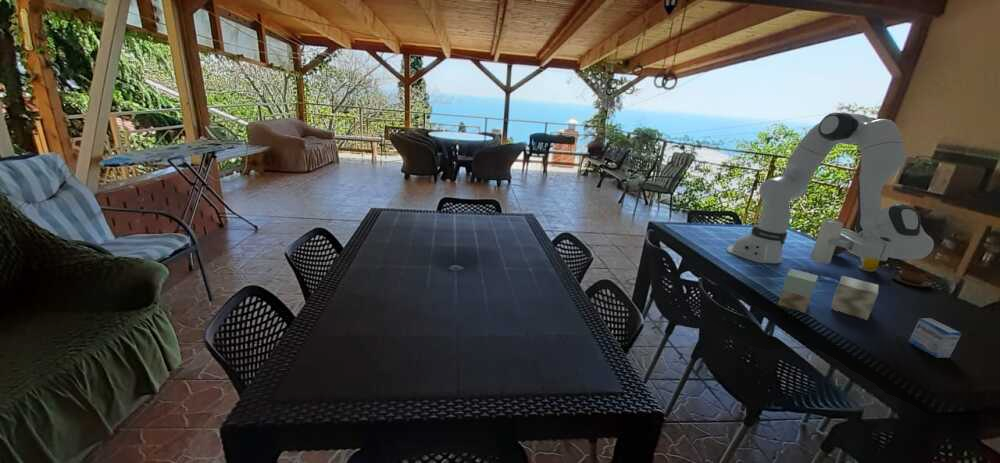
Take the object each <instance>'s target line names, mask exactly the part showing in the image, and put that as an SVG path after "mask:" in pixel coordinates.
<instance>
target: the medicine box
mask: <svg viewBox="0 0 1000 463" xmlns="http://www.w3.org/2000/svg"><path fill="white" fill-rule="evenodd" d="M962 335H963V333H962V332H960V331H958V330H956V329H954V328H952V327H950V326H948V325H947V324H943V323H941V322H939V321H937V320H935V319H933V318H929V317H927V318H925V317H924V318H923V317H922V318H919V319H918V320H917V323H916V325H915V327H914V330H913V331H912V333H911V335H910V337H909V338H908V343H909V344H911V345H912V344H913V346H915V347H916V348H917V349H919V350H922V351H924V352H926V353H927V354H929V355H931V356H933V357H935V358H936V359H938V358H941V359H942V358H947V359H949V358H950V357H951V355H952V353H953V351H954V349H955V348H956V346H957V343H958V341H959V340H960V338H961V336H962Z"/></svg>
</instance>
